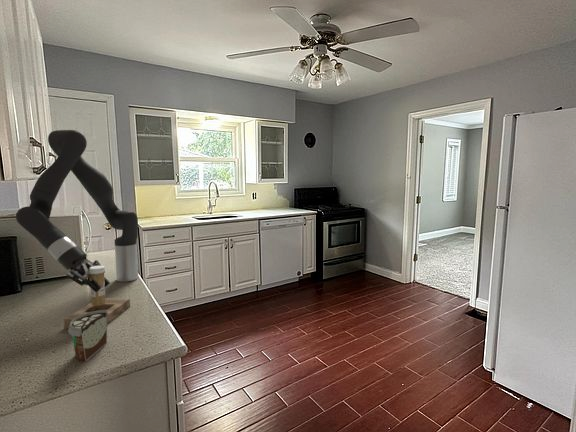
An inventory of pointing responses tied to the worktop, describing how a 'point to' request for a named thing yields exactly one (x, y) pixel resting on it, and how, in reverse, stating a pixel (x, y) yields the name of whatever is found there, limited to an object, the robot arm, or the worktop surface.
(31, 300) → the worktop surface
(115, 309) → the walnut caddy
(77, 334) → the food container
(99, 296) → the sprinkles bottle
